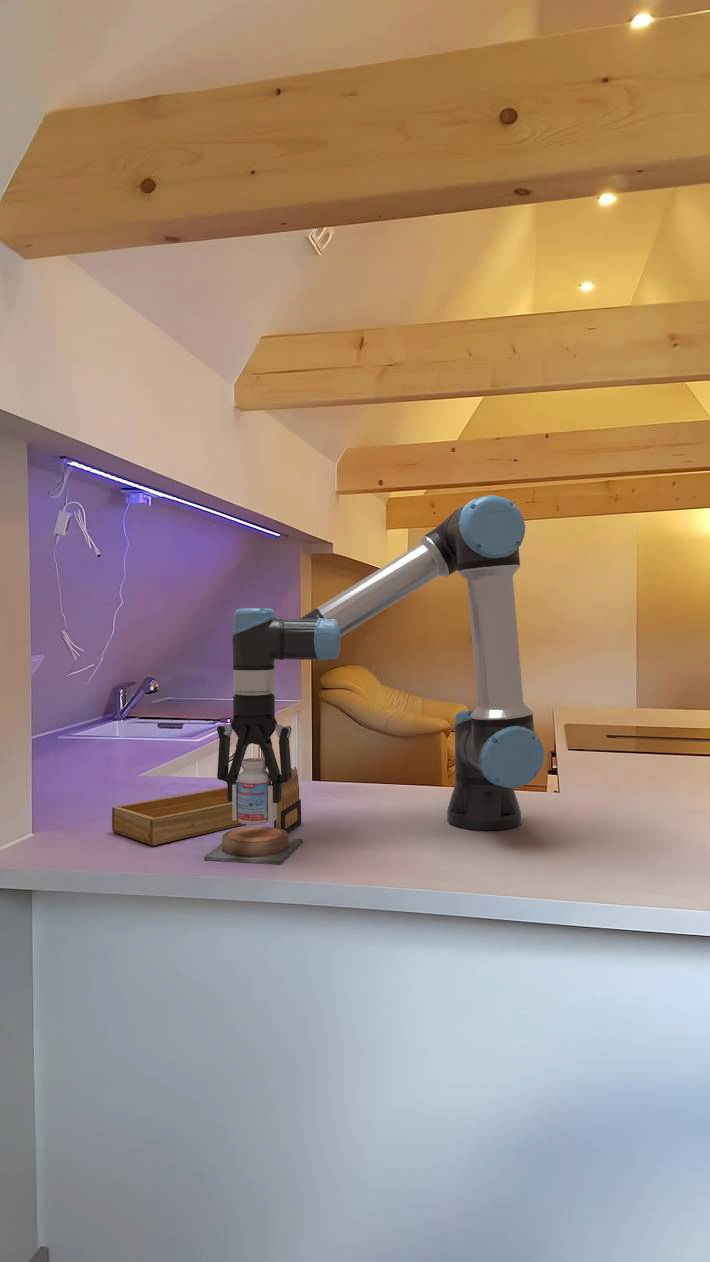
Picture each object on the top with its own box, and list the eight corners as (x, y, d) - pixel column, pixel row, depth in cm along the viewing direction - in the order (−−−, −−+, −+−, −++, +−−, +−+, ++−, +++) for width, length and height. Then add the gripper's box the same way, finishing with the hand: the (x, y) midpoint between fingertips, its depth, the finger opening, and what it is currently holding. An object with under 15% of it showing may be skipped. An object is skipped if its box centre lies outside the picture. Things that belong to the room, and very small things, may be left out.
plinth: (302, 841, 147) (302, 825, 147) (280, 864, 133) (280, 846, 133) (232, 838, 150) (232, 822, 150) (204, 860, 136) (204, 842, 136)
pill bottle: (233, 825, 139) (232, 762, 139) (243, 816, 145) (243, 756, 145) (266, 826, 138) (265, 763, 138) (275, 818, 144) (274, 757, 144)
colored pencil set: (282, 837, 150) (281, 775, 150) (273, 836, 151) (272, 775, 151) (301, 823, 160) (300, 765, 160) (293, 823, 161) (292, 765, 161)
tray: (235, 807, 177) (235, 783, 177) (279, 819, 166) (278, 792, 166) (111, 835, 155) (111, 806, 154) (152, 850, 144) (152, 819, 144)
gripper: (309, 691, 143) (310, 816, 143) (212, 690, 147) (213, 812, 147) (298, 695, 136) (299, 827, 136) (196, 693, 140) (197, 822, 140)
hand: (254, 819), depth 141 cm, fingers closed on pill bottle, 6 cm apart
